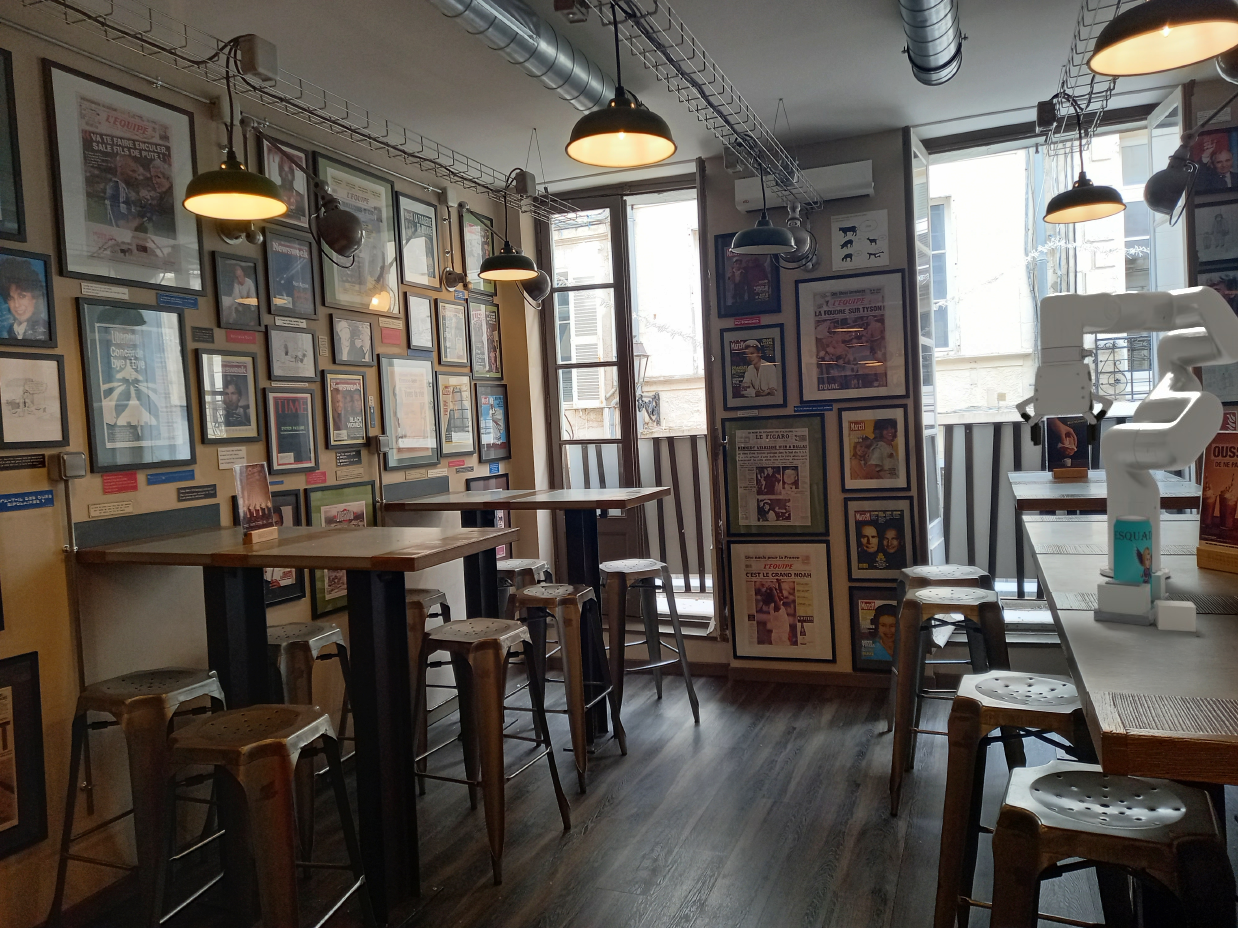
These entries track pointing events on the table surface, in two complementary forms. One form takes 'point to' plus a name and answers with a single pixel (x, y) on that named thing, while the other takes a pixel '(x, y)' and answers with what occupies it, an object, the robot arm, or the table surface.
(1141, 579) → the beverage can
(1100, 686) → the table surface
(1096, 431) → the robot arm
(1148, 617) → the rail
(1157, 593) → the module
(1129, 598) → the block
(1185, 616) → the block
